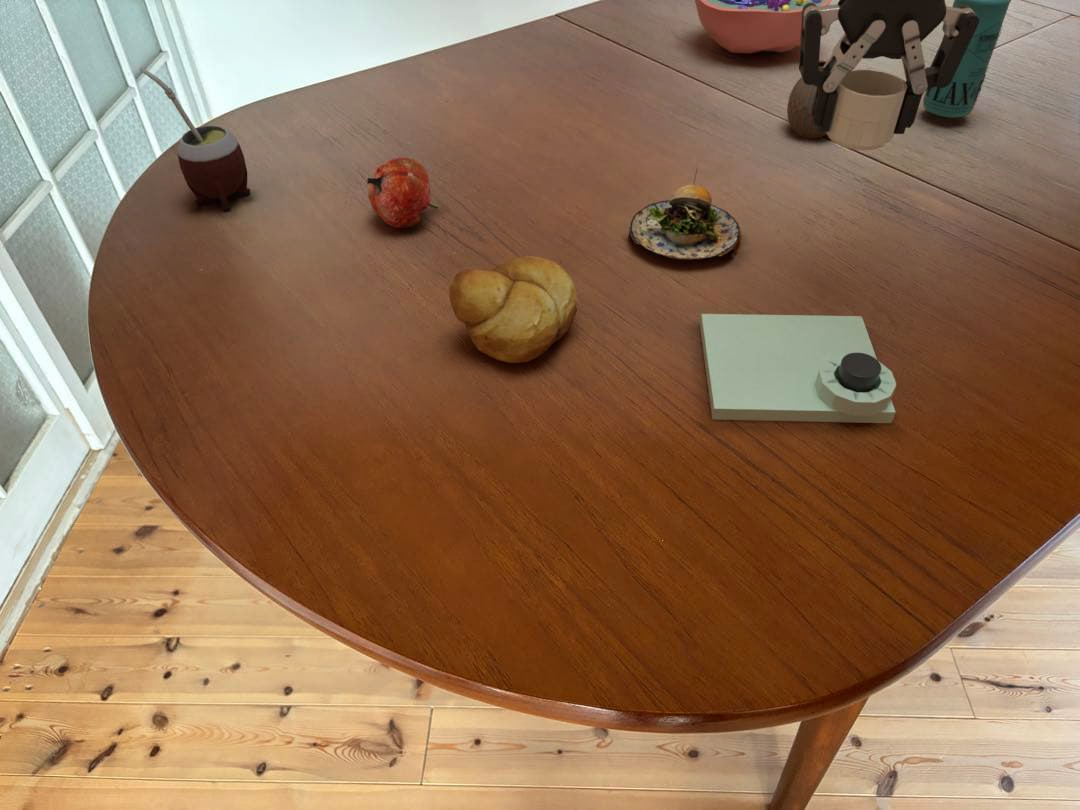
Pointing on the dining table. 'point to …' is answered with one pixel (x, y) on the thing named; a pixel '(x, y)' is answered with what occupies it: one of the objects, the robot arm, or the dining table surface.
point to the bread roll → (515, 307)
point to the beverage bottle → (970, 62)
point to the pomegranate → (400, 192)
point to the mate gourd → (209, 159)
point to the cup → (866, 109)
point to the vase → (803, 109)
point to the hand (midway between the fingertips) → (859, 128)
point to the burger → (686, 226)
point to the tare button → (859, 372)
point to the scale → (789, 369)
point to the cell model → (754, 23)
